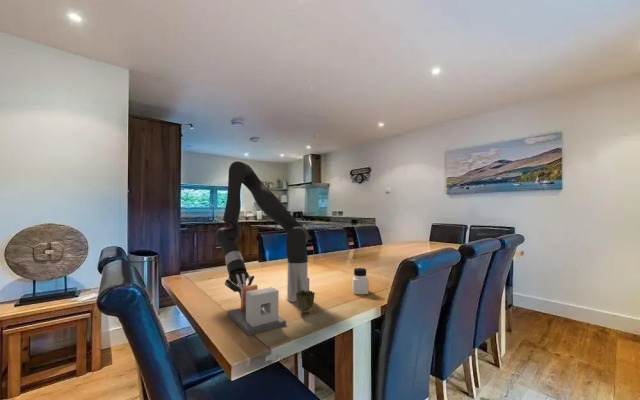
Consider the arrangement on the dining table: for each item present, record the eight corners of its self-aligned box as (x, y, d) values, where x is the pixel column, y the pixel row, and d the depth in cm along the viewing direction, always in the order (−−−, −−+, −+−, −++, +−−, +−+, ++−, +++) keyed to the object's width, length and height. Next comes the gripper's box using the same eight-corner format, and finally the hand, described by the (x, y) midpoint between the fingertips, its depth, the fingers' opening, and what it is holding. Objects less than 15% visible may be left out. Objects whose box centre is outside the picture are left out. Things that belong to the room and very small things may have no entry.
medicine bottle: (368, 294, 135) (368, 269, 135) (353, 294, 135) (353, 269, 136) (366, 290, 142) (366, 266, 143) (352, 290, 142) (352, 266, 143)
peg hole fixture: (260, 307, 117) (261, 278, 118) (286, 325, 100) (286, 291, 100) (227, 314, 109) (227, 283, 110) (248, 335, 91) (248, 298, 92)
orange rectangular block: (255, 306, 112) (255, 284, 112) (267, 315, 103) (267, 291, 103) (240, 310, 109) (241, 286, 109) (252, 319, 99) (252, 294, 100)
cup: (307, 317, 106) (307, 296, 107) (292, 313, 110) (292, 293, 110) (318, 311, 113) (318, 291, 113) (303, 308, 116) (303, 288, 117)
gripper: (222, 260, 118) (231, 296, 107) (251, 257, 125) (262, 291, 115) (218, 270, 122) (226, 306, 112) (247, 267, 130) (257, 300, 119)
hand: (245, 298), depth 113 cm, fingers closed
